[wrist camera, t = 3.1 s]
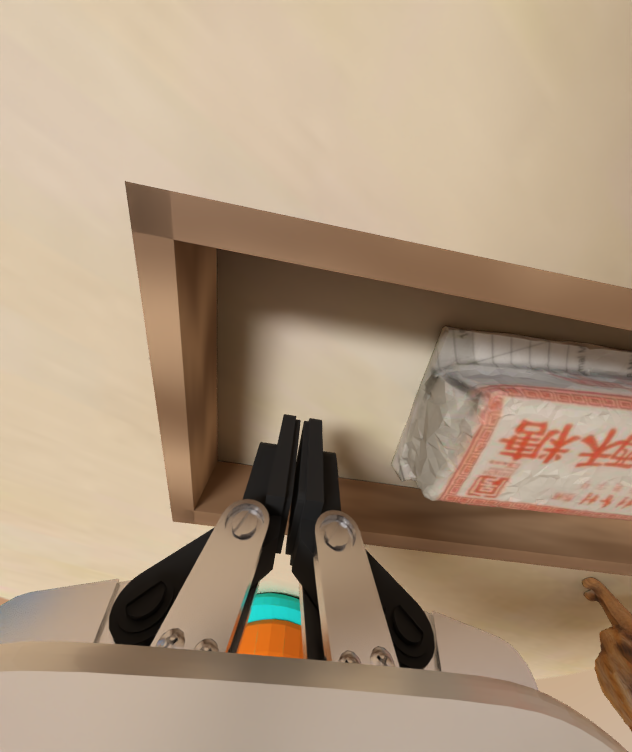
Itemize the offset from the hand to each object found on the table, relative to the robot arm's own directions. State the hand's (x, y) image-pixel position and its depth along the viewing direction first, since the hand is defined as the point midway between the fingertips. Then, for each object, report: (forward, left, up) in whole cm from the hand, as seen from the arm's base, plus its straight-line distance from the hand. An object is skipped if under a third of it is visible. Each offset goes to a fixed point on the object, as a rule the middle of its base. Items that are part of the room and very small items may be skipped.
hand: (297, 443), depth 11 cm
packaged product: (-1, +15, -4) cm, 16 cm away
